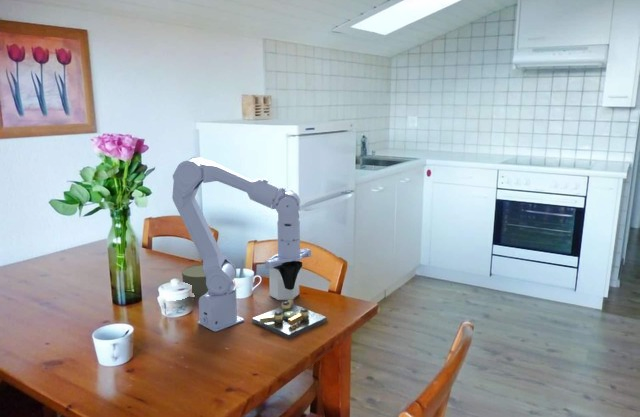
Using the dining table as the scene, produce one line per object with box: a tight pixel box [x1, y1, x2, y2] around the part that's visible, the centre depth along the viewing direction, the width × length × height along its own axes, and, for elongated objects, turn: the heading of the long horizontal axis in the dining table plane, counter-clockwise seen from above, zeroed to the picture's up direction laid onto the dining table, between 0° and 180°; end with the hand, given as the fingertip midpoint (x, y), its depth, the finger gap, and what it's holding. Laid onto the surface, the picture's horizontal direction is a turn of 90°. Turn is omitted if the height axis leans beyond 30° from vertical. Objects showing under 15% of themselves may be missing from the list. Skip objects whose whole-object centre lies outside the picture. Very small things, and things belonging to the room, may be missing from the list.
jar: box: [268, 253, 300, 301], centre depth 153 cm, size 9×8×12 cm
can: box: [181, 263, 208, 299], centre depth 157 cm, size 12×12×7 cm
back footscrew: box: [281, 299, 294, 312], centre depth 141 cm, size 6×2×2 cm, turn 167°
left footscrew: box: [260, 311, 283, 324], centre depth 132 cm, size 6×2×2 cm, turn 107°
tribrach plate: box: [251, 303, 328, 340], centre depth 135 cm, size 14×14×3 cm
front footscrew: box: [288, 307, 309, 325], centre depth 132 cm, size 7×2×2 cm, turn 143°
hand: (289, 288), depth 134 cm, fingers closed
